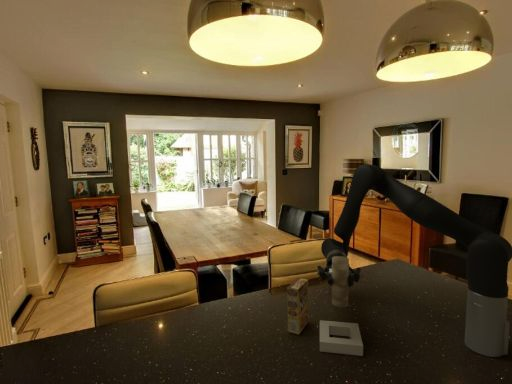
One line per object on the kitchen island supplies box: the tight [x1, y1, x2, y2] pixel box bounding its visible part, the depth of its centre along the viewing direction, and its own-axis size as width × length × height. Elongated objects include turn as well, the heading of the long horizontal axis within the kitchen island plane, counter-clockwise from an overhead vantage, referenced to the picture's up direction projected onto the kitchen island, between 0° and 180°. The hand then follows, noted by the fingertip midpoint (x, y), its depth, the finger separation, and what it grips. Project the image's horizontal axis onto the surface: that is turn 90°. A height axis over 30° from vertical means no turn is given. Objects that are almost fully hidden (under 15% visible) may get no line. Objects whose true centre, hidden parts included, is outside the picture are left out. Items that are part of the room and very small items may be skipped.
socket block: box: [319, 319, 364, 357], centre depth 93 cm, size 12×12×3 cm
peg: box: [331, 256, 350, 308], centre depth 91 cm, size 5×5×14 cm
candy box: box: [286, 277, 309, 335], centre depth 101 cm, size 9×4×15 cm, turn 150°
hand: (340, 283), depth 89 cm, fingers closed on peg, 4 cm apart
